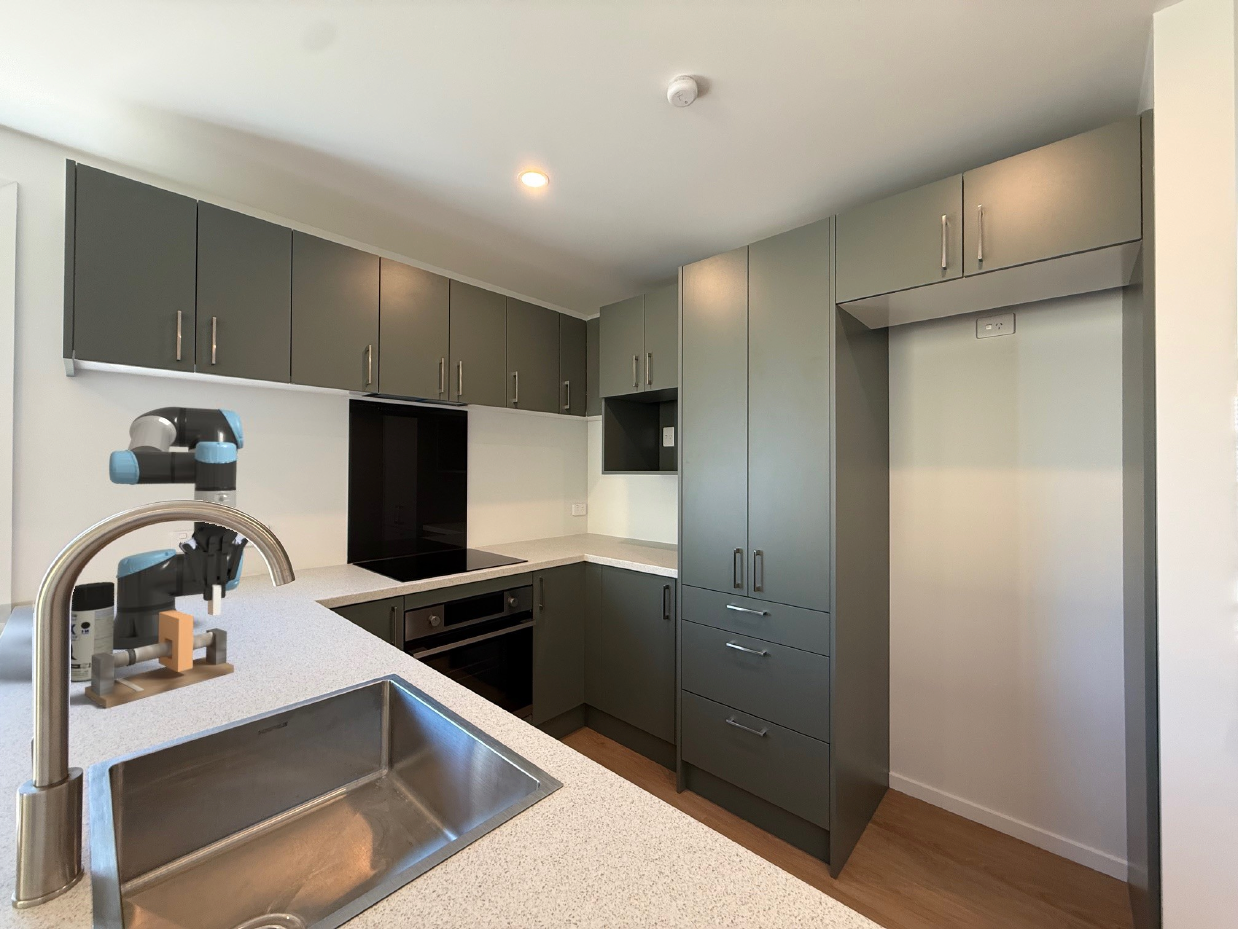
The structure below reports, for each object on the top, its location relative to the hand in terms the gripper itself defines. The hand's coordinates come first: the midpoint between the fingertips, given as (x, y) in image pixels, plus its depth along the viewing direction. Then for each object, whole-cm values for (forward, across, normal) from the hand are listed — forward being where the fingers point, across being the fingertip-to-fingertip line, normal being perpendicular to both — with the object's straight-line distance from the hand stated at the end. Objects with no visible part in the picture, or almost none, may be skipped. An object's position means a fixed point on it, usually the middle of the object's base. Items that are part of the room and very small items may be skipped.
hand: (214, 614), depth 118 cm
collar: (+10, -7, 0) cm, 12 cm away
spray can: (+13, -15, +18) cm, 27 cm away
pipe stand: (+13, -9, 0) cm, 15 cm away
